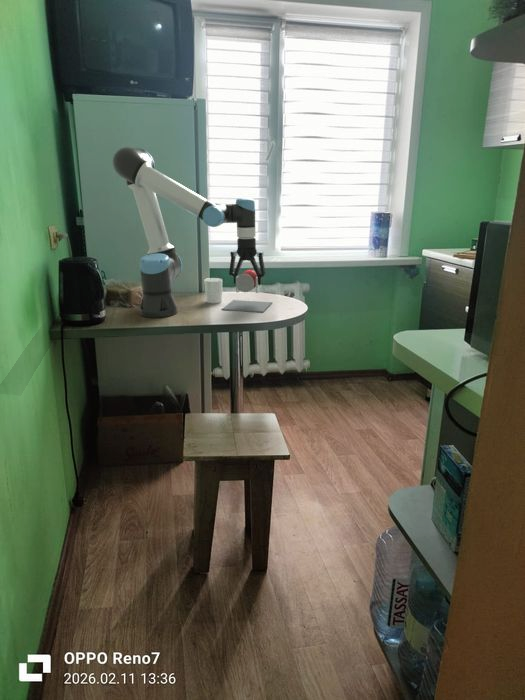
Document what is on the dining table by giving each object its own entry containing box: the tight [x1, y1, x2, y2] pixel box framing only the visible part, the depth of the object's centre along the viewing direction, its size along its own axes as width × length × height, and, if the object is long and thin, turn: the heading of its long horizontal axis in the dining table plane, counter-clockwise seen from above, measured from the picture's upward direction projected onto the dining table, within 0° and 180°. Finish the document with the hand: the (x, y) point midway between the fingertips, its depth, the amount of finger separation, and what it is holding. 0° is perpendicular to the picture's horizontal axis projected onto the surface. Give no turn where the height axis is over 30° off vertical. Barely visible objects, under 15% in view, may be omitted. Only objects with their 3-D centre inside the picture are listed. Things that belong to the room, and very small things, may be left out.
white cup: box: [203, 277, 223, 304], centre depth 219 cm, size 8×8×10 cm
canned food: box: [235, 269, 257, 293], centre depth 210 cm, size 8×8×11 cm
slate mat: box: [221, 299, 273, 314], centre depth 212 cm, size 18×16×1 cm
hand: (247, 292), depth 210 cm, fingers closed on canned food, 8 cm apart
